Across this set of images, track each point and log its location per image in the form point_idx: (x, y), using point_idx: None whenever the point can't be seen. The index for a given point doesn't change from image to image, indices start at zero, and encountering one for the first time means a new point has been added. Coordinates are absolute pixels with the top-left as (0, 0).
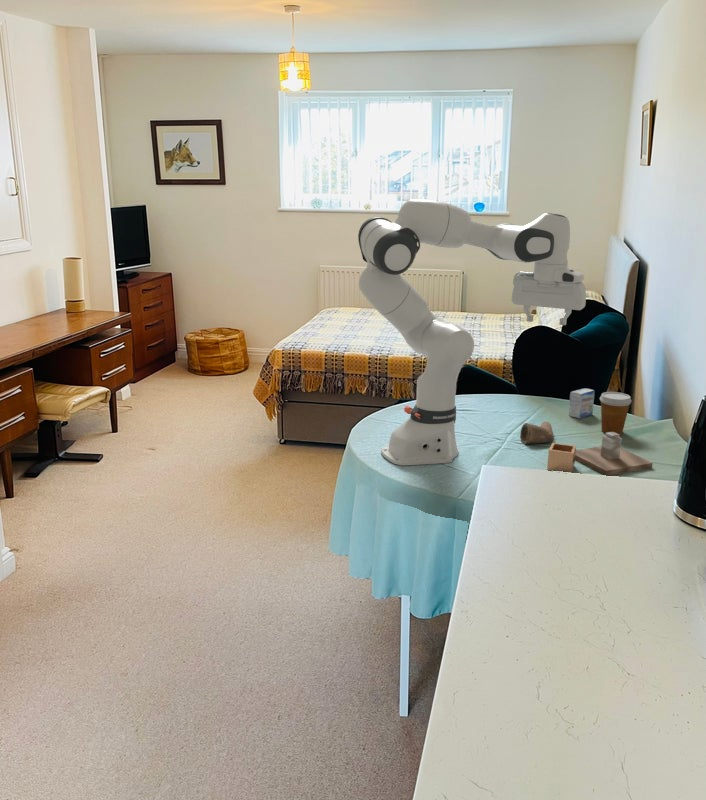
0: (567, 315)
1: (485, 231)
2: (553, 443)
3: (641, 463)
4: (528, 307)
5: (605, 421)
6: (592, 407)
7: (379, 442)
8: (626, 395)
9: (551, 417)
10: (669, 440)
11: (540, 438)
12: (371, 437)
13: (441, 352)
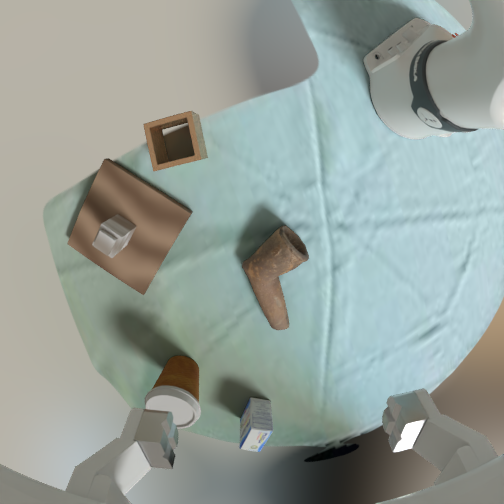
0: (93, 457)
1: None
2: (197, 155)
3: (76, 230)
4: (457, 466)
5: (185, 368)
6: (240, 426)
7: None
8: None
9: (292, 382)
10: (106, 367)
11: (261, 245)
12: None
13: None
